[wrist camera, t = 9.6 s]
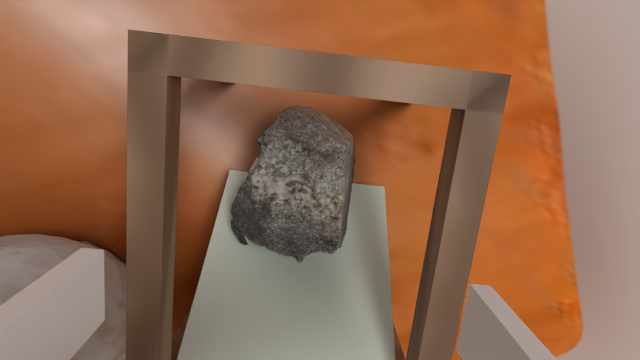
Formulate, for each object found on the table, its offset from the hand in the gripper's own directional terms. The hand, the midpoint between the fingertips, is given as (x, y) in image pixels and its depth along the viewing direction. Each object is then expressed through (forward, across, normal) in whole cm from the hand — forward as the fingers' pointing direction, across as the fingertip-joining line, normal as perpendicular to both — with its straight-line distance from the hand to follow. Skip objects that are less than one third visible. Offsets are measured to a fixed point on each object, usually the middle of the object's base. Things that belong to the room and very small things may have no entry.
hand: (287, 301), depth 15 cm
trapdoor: (+13, 0, -9) cm, 15 cm away
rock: (+18, 0, -2) cm, 18 cm away
